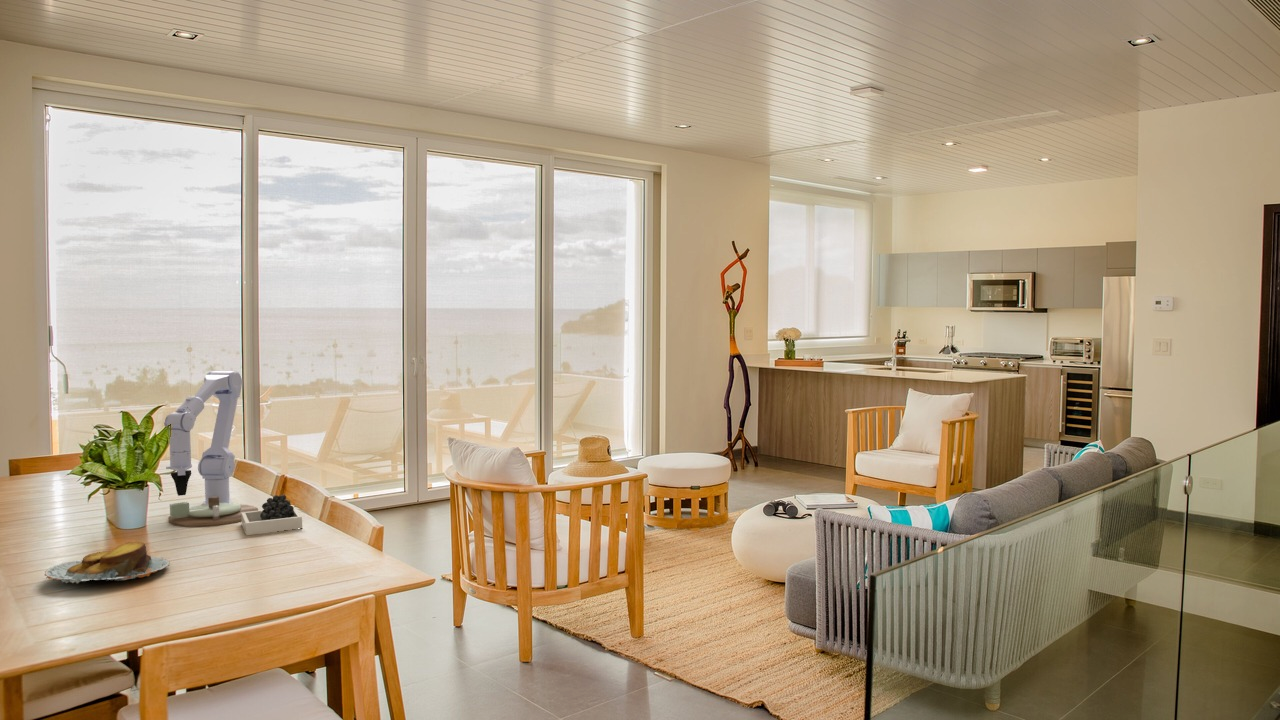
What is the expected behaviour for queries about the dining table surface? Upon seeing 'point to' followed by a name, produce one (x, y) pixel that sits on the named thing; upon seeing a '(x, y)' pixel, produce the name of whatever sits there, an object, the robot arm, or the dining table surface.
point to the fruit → (276, 508)
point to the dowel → (215, 513)
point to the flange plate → (201, 509)
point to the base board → (208, 521)
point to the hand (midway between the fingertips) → (181, 495)
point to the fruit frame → (269, 523)
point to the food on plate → (109, 565)
